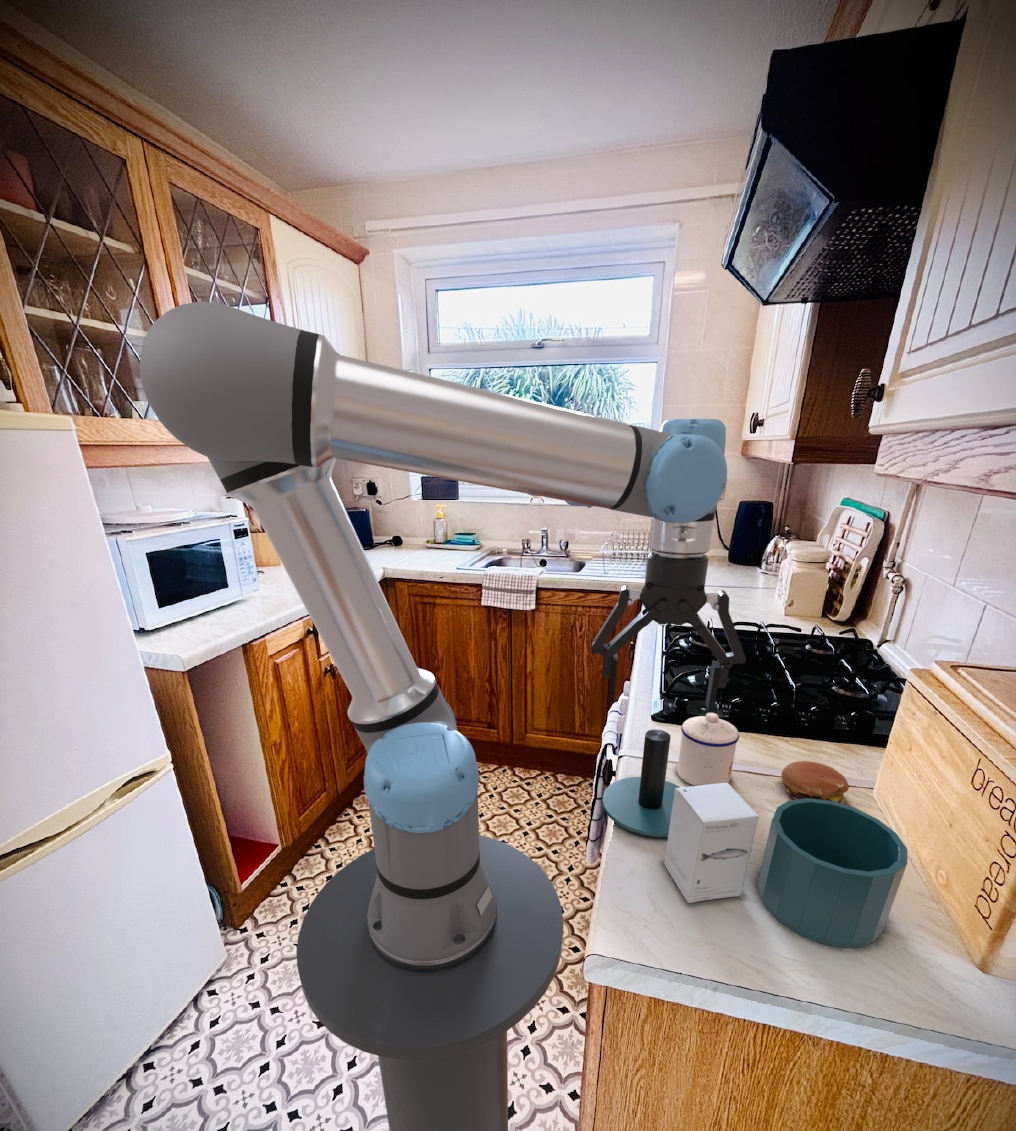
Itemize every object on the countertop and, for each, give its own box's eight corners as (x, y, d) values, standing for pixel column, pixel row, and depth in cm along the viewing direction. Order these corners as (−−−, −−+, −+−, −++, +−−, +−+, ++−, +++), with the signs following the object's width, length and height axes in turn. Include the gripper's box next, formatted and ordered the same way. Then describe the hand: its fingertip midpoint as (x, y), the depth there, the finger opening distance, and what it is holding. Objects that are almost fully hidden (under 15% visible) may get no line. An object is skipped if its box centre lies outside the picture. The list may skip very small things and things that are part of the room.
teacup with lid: (741, 788, 90) (752, 726, 85) (687, 791, 89) (696, 729, 84) (710, 751, 101) (719, 694, 96) (662, 753, 100) (669, 696, 95)
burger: (789, 771, 94) (795, 748, 92) (850, 792, 89) (857, 768, 87) (770, 797, 88) (776, 772, 86) (835, 822, 82) (842, 796, 80)
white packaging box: (687, 905, 67) (701, 822, 62) (662, 863, 74) (673, 785, 69) (743, 898, 68) (761, 815, 63) (713, 857, 75) (727, 780, 70)
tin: (771, 936, 63) (789, 865, 59) (748, 856, 75) (762, 793, 71) (903, 957, 60) (931, 884, 56) (857, 870, 72) (877, 805, 68)
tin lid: (599, 833, 80) (605, 755, 75) (604, 778, 93) (609, 709, 88) (703, 846, 77) (717, 766, 72) (693, 787, 90) (704, 717, 85)
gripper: (577, 554, 68) (569, 706, 76) (791, 562, 64) (758, 723, 72) (582, 544, 75) (574, 685, 83) (775, 551, 70) (747, 699, 79)
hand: (659, 703), depth 78 cm, fingers open, 13 cm apart
